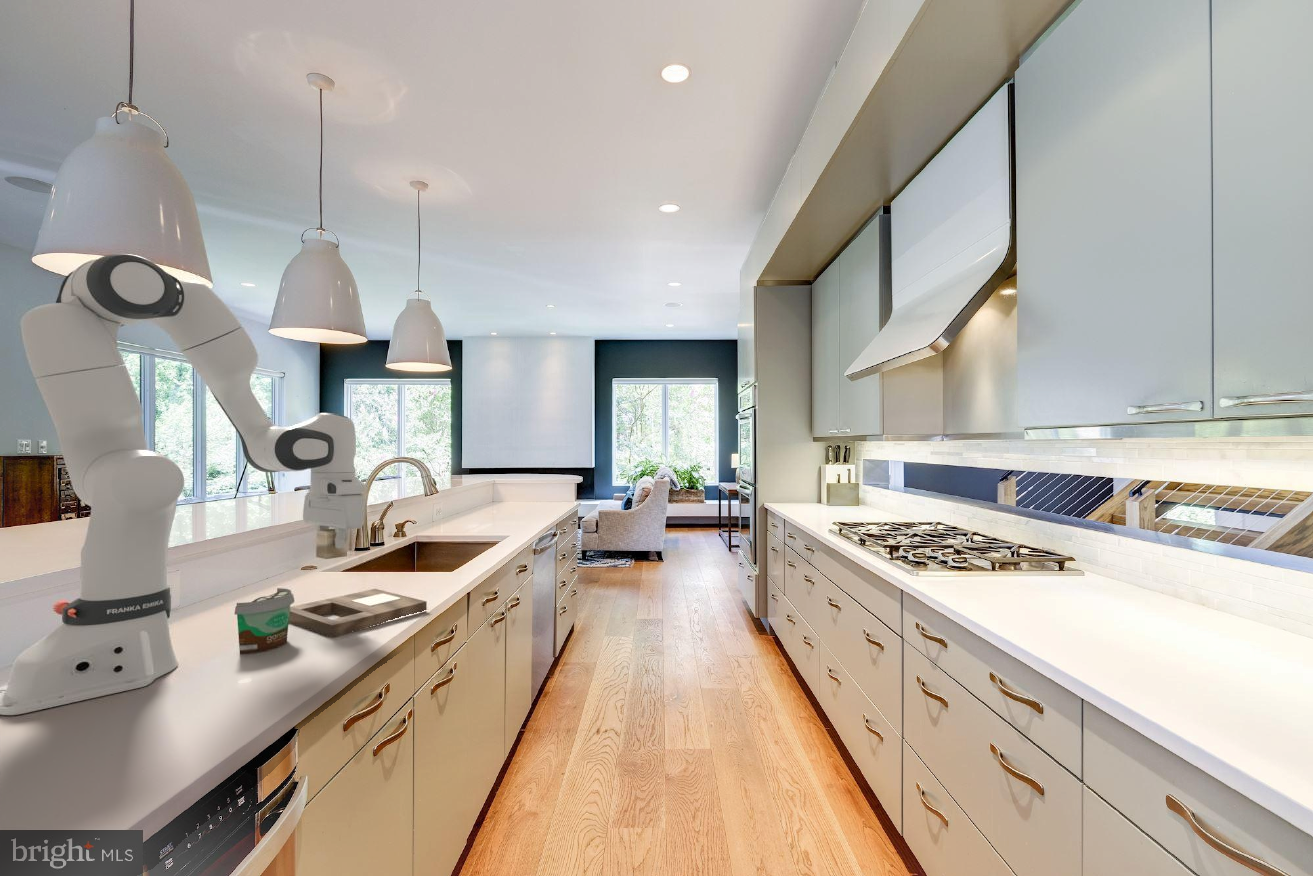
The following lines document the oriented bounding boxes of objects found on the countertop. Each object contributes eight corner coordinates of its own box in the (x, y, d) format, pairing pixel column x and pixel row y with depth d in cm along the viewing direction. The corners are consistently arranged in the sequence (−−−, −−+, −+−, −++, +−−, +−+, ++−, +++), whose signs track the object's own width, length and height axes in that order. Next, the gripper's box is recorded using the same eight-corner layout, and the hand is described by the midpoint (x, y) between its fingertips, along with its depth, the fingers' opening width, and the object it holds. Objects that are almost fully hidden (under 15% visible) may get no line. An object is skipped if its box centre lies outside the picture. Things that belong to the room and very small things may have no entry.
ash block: (326, 559, 125) (327, 531, 125) (316, 557, 128) (316, 530, 128) (346, 556, 129) (347, 529, 129) (336, 554, 131) (337, 528, 132)
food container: (265, 657, 107) (266, 603, 107) (233, 657, 107) (234, 603, 107) (307, 635, 119) (308, 587, 119) (278, 635, 119) (279, 587, 119)
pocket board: (332, 637, 118) (332, 624, 118) (282, 619, 130) (282, 607, 130) (426, 611, 136) (426, 600, 136) (375, 598, 148) (375, 588, 148)
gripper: (295, 484, 132) (294, 543, 131) (342, 487, 121) (340, 552, 120) (324, 482, 137) (322, 540, 137) (371, 486, 126) (369, 548, 125)
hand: (331, 546), depth 128 cm, fingers closed on ash block, 4 cm apart
